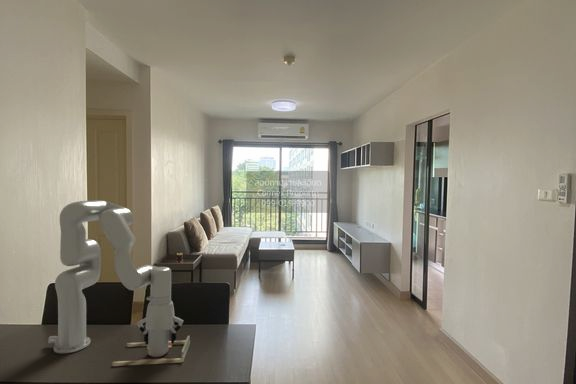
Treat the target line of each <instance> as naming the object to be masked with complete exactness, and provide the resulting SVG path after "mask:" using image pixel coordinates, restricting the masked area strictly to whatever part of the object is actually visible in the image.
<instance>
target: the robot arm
mask: <svg viewBox="0 0 576 384" xmlns="http://www.w3.org/2000/svg"><path fill="white" fill-rule="evenodd" d="M133 214H134V213H132V211H131V210H130V209H129V208H127V207H125V206H122V205H119V204H115V203H112V202H110V201H106V200H102V199H100V200H99V199H97V200H80V201H75V202H70V203H68V204H67V205H65V206H64V207H63V208H62V210H61V212H59V227H60V246H59V247H60V250H59V256H60V257H59V258H60V262H61V264H62V265H63V266H66V267H72V268H70V269H66V270H64V271H62V272H61V273H60V274H58V275H57V276H56V278H55V280H54V287H55V291H56V292H55V293H56V296H57V315H58V317H57V321H58V322H57V326H58V327H57V329H58V330H57V335H51V336H48V341H47V342H48V344H54V345H53V352H54V353H55V354H60V355H61V354H70V353H71V354H72V353H75V352H78V351H81V350H84V349H85V348H87V347H88V346H90V344H91V338H90V337H89V336H87V300H86V299H87V298H86V297H85V294H84V293H83V290H84V289H86V288H88V287H90V286H91V287H92V286H93V285H95V284H96V283H97V282H99V279H100V277H101V266H102V265H101V263H102V262H101V261H102V260H101V259H102V258H101V257H102V251H101V250H102V249H101V247H100V244H99V242H97V241H96V240H94V239H91V238H86V237H87V236H86V235H87V232H86V228H85V226H84V225H83V223H87V222H95V221H98V223H99V225H100V227H101V229H102V231H103V232H104V235H105V236H106V238H107V239H108V241H109V242H110V245H111V247H112V248H113V250H114V254H113V266H114V270H115V273H116V275H117V277H118V278H119V280H120V282H121V284H122V285H123V287H125V288H127V289H128V291H136V290H137V291H138V290H139V289H142V288H143V287H145V286H147V285H150V295H149V296H146V301H149V303H147V308H146V314H145V317H144V318H143V319H140V320H138V321H137V322H136V325H137V327H138V329H139V330H140V331H141V332H142V334H143V335H144V336H143V337H144V338H143V340H144V341H143V342H145V345H147V344H148V330H149V331H150V330H152V329H156V328H155V327H158V329H161V330H169V331H171V334H170V338H171V339H170V341H171V343H172V344H173V343H174V341H177V332H178V331H179V330H180V329H181V327H182V325H183V323H184V319H182V318H181V317H178V316H175V307H174V302H173V300H172V269H171V268H170V267H167V266H156V265H152V264H145V265H140V266H139V267H137V268H136V267H135V265H134V263H133V260H132V257H131V254H132V249H133V247H134V246H135V244H136V242H137V239H136V236H135V235H134V234H133V232H132V230H131V228H130V226H131V225H132V223H133V222H134V215H133ZM78 265H79V266H78ZM74 266H75V267H74ZM127 289H126V290H127ZM175 322H176V323H178V325H177V326H176V325H175ZM143 324H145V326H144V325H143Z"/></svg>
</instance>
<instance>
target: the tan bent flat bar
mask: <svg viewBox="0 0 576 384" xmlns="http://www.w3.org/2000/svg"><path fill="white" fill-rule="evenodd" d="M190 337H191V336H190V335H187V337H186V339H184V340H175V341H174V343H173V344H172V343H171V340H169V342H168V349H170V348H172V347H173V346H175V345H176V346H177V345H183V347H182V350H181V352H180V353H181V356H180V357H178V358H176V357H175V358H166V357H165V358H163V357H162V358H160V357H158V358H143V359H139V360H138V359H137V360H122V361H120V360H119V361H113V362H111V366H112V367H120V366H121V367H122V366H124V367H125V366H137V365H138V366H141V365H158V364H176V363H177V364H178V363H184V361H185V359H186V356H187V352H188V350H189V347H190V344H191V338H190ZM133 347H146V350H148V344H147V345H145V342H144V341H143V342H127V343H126V348H133Z"/></svg>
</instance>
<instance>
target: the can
mask: <svg viewBox="0 0 576 384" xmlns="http://www.w3.org/2000/svg"><path fill="white" fill-rule="evenodd" d="M155 328H156V329H152V330H150V331H149V330H148V346H147V347H148V349H147V354H148V355H149V356H150V357H151V358H152V357H153V358H160V357H162V356H165V355H166V354H167V353H168V352H169V348H168V342H169V341H170V340H169V339H170V338H169V335H170V334H169V333H170V332H169V331H170V330H161V329H158V327H155Z"/></svg>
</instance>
